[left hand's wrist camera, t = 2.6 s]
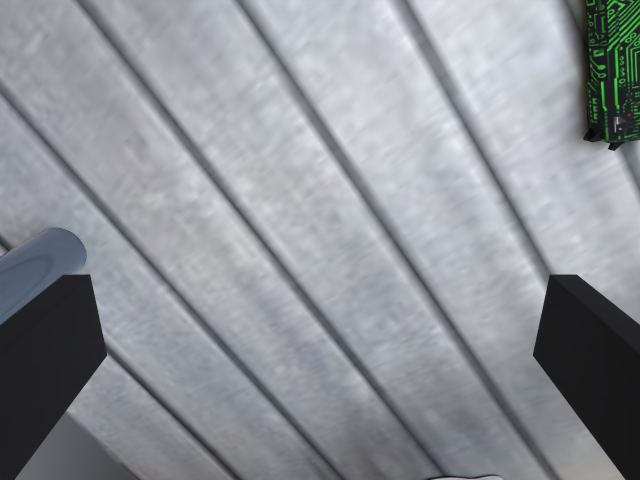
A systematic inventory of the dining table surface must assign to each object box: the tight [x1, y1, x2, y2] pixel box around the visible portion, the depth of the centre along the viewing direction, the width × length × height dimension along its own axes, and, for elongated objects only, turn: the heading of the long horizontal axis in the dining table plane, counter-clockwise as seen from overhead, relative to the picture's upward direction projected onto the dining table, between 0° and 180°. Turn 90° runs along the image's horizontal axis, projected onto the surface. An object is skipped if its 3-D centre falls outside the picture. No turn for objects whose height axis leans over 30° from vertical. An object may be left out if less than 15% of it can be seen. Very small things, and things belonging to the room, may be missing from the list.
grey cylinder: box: [0, 228, 86, 325], centre depth 34 cm, size 5×5×17 cm
